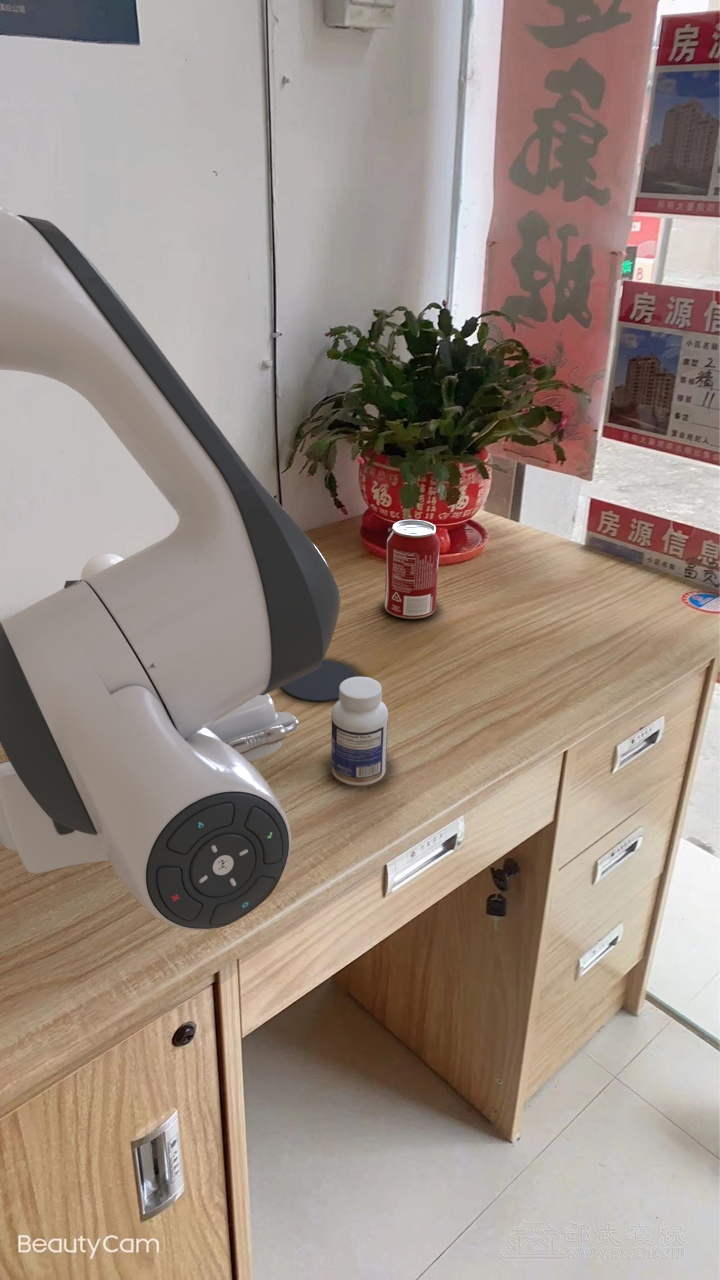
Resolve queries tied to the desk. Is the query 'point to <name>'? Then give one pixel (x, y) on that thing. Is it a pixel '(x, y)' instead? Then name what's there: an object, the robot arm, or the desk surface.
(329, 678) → the coaster
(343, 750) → the pill bottle
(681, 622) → the desk surface
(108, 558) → the lightbulb
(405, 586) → the soda can
